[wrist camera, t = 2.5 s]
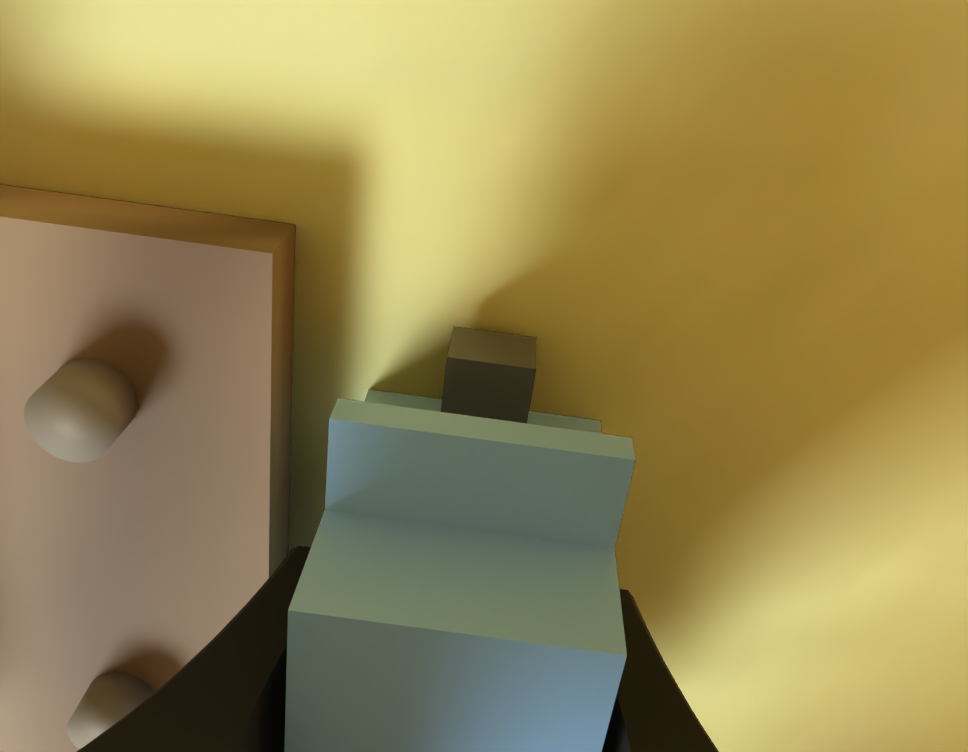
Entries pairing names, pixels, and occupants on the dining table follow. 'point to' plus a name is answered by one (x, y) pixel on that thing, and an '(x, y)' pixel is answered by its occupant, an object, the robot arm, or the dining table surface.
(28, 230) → the board
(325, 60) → the dining table surface
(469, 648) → the block
